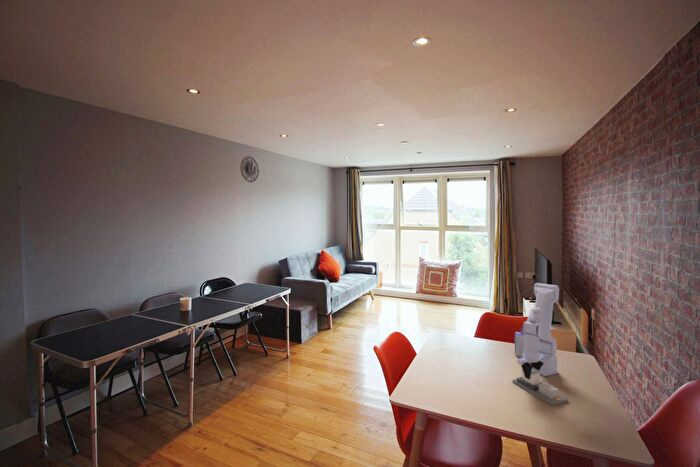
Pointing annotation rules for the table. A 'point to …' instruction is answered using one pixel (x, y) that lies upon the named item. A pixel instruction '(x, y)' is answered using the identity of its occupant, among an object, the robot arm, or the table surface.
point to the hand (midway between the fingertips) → (531, 377)
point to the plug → (532, 377)
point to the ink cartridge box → (519, 343)
